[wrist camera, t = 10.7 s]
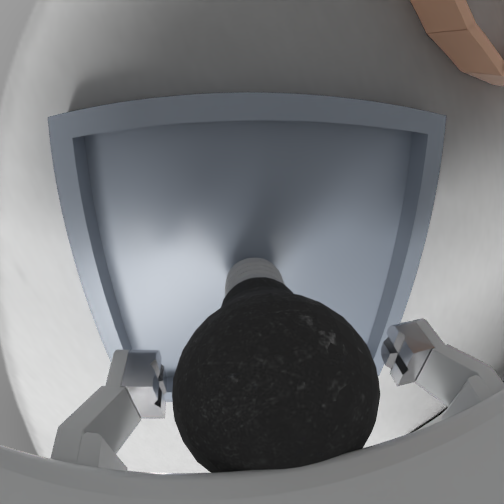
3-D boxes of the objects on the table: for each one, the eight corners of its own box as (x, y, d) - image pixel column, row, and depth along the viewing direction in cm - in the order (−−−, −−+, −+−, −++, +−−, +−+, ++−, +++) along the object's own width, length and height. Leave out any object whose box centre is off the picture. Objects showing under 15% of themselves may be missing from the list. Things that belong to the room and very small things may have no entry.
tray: (422, 110, 12) (446, 115, 11) (369, 356, 20) (379, 375, 18) (66, 113, 10) (47, 117, 9) (132, 379, 18) (129, 401, 16)
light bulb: (314, 310, 16) (389, 489, 7) (205, 330, 15) (205, 525, 6) (305, 204, 13) (446, 378, 4) (176, 228, 13) (114, 442, 4)
